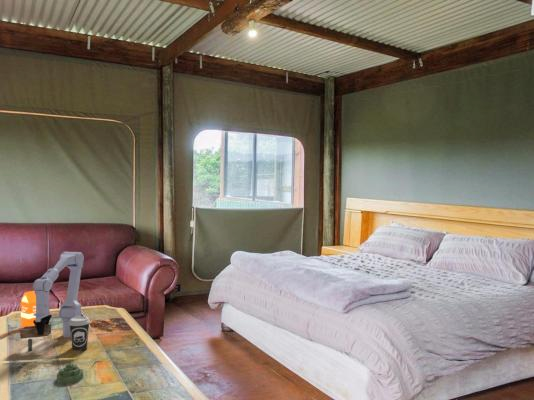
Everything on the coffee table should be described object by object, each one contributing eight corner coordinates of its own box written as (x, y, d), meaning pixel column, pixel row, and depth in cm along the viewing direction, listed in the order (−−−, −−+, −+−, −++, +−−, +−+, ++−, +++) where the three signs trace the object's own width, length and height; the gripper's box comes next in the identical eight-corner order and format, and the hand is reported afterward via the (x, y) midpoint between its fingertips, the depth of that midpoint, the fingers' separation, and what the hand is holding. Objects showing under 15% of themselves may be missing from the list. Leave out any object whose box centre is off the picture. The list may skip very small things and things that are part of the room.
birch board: (58, 341, 237) (58, 339, 237) (46, 356, 217) (46, 354, 217) (31, 343, 235) (31, 341, 235) (16, 357, 215) (16, 355, 215)
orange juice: (44, 325, 263) (43, 290, 262) (28, 329, 256) (28, 293, 255) (36, 323, 267) (35, 288, 266) (20, 327, 260) (20, 291, 259)
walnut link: (51, 332, 227) (50, 324, 226) (47, 336, 221) (47, 327, 221) (24, 334, 225) (24, 326, 225) (20, 338, 219) (19, 330, 219)
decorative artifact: (56, 376, 196) (56, 386, 187) (56, 359, 196) (56, 368, 186) (82, 372, 200) (83, 381, 191) (82, 356, 200) (83, 364, 190)
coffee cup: (94, 347, 229) (94, 317, 228) (79, 354, 220) (78, 322, 219) (80, 344, 233) (79, 314, 232) (64, 351, 224) (64, 320, 224)
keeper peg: (32, 349, 223) (32, 338, 223) (31, 351, 221) (31, 339, 221) (28, 350, 223) (28, 338, 222) (27, 351, 221) (27, 339, 221)
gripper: (38, 300, 229) (38, 328, 230) (28, 308, 215) (28, 338, 216) (53, 300, 231) (54, 327, 231) (44, 308, 216) (44, 337, 217)
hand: (42, 332), depth 223 cm, fingers closed on walnut link, 5 cm apart
